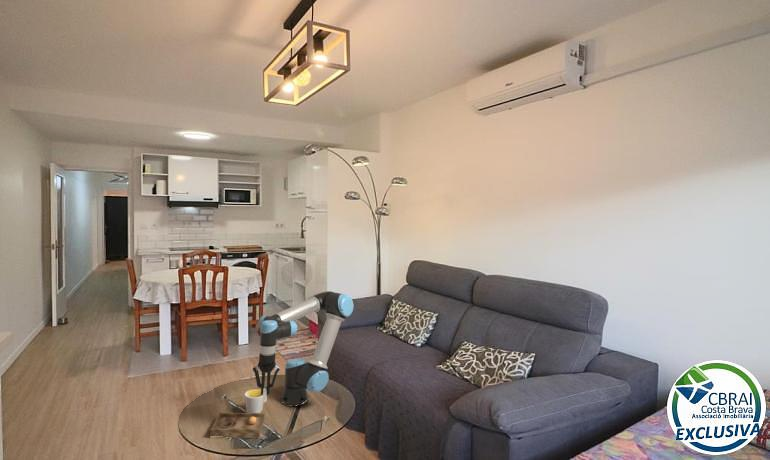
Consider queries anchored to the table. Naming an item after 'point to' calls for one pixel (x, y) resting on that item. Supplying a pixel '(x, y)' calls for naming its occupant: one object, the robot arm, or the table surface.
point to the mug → (254, 401)
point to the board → (237, 425)
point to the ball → (252, 420)
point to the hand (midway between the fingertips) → (264, 401)
